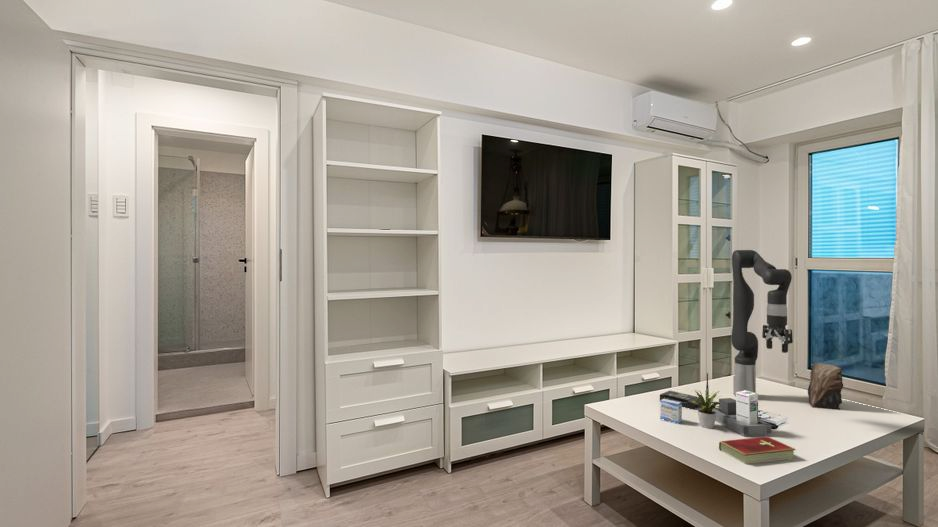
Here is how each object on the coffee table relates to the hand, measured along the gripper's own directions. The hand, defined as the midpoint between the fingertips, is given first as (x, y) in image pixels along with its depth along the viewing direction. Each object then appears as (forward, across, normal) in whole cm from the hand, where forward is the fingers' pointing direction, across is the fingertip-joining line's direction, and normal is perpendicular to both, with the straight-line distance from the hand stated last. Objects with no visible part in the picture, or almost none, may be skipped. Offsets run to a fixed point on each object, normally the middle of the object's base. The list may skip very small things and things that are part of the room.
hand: (776, 350), depth 197 cm
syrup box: (+29, +11, -23) cm, 39 cm away
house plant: (+30, +5, -38) cm, 49 cm away
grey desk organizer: (+30, +4, -23) cm, 38 cm away
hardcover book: (+31, +33, -36) cm, 58 cm away
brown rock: (+30, -13, +34) cm, 47 cm away
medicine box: (+30, -3, -48) cm, 57 cm away
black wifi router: (+31, -23, -29) cm, 48 cm away
